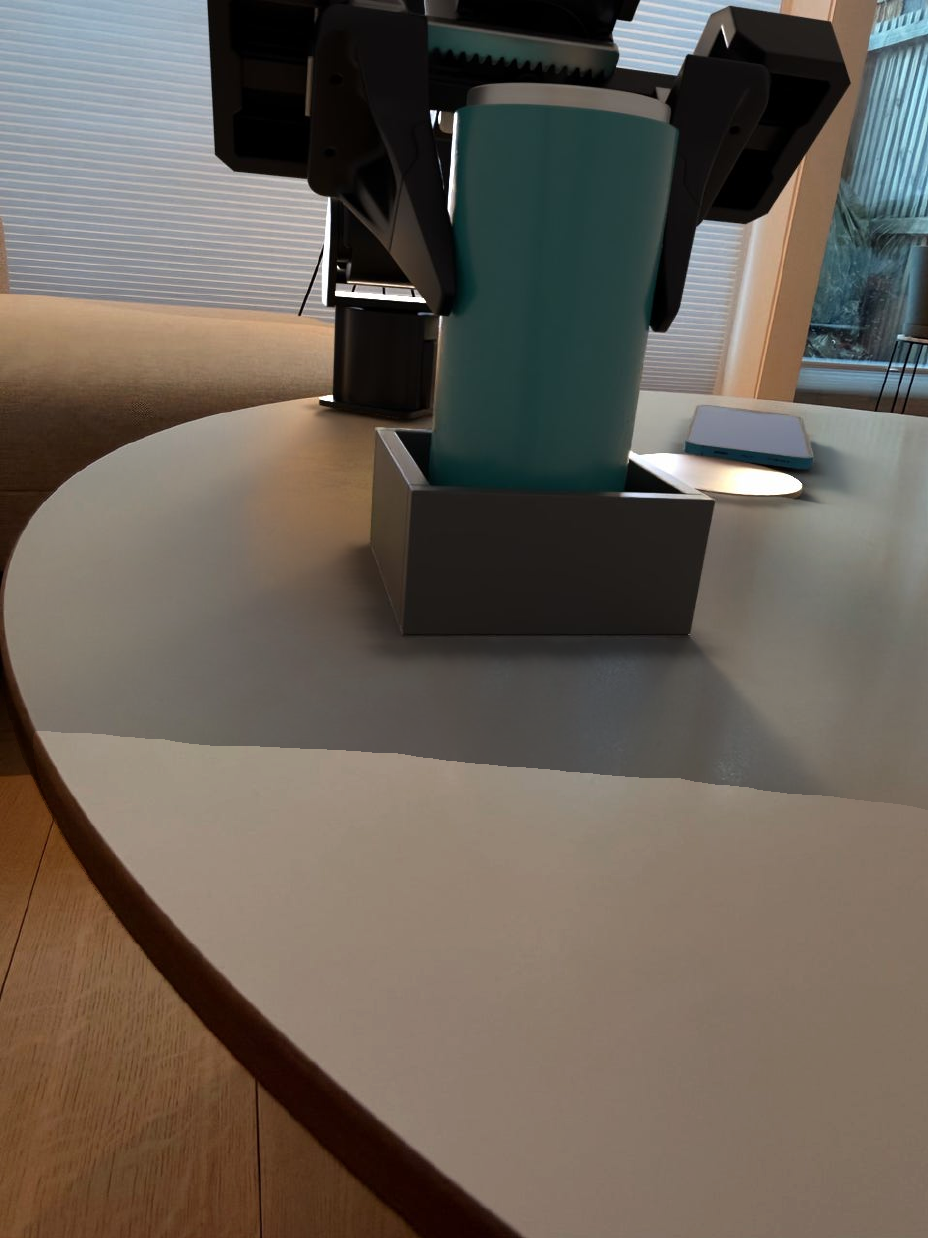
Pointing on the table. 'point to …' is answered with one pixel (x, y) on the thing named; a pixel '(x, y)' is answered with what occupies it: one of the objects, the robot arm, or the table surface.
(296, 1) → the robot arm
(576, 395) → the can
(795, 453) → the smartphone
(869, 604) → the table surface
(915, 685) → the table surface
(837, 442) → the table surface
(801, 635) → the table surface
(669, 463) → the coaster
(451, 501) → the box
